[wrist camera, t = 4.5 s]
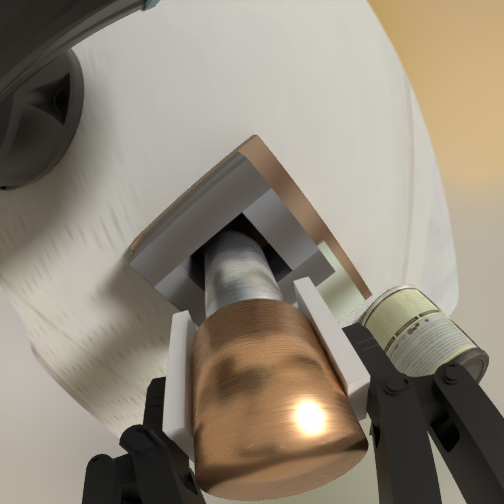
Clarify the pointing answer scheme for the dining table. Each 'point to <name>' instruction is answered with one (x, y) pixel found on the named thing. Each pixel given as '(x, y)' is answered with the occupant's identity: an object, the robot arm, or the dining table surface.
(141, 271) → the board
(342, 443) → the peg
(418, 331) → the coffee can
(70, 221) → the dining table surface
